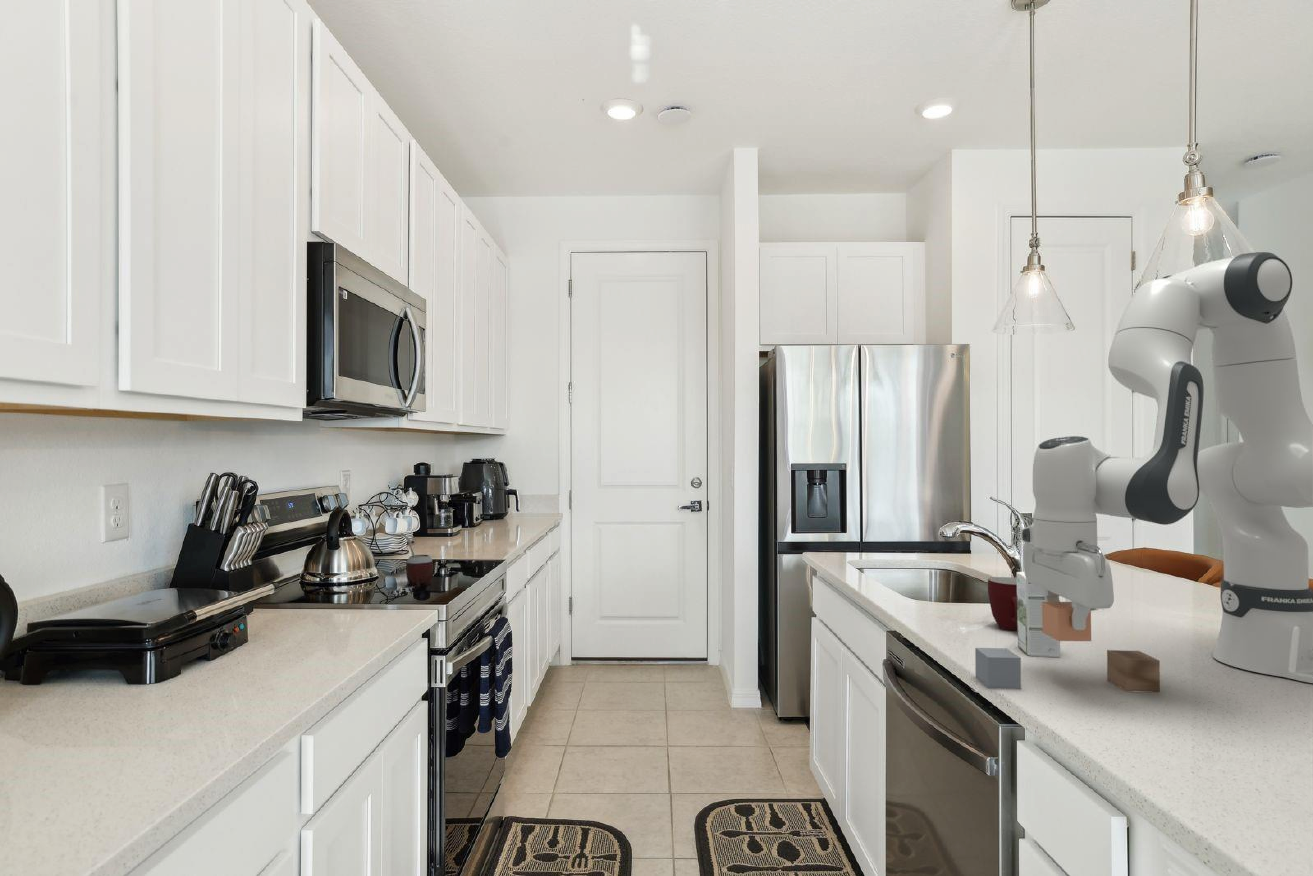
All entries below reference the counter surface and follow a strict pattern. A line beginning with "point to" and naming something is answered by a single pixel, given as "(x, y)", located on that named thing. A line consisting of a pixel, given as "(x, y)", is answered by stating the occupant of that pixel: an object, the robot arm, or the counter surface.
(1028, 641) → the syrup box
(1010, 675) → the slate block
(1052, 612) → the terracotta block
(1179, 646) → the counter surface
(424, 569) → the mate gourd
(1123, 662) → the walnut block
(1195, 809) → the counter surface
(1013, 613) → the mug
